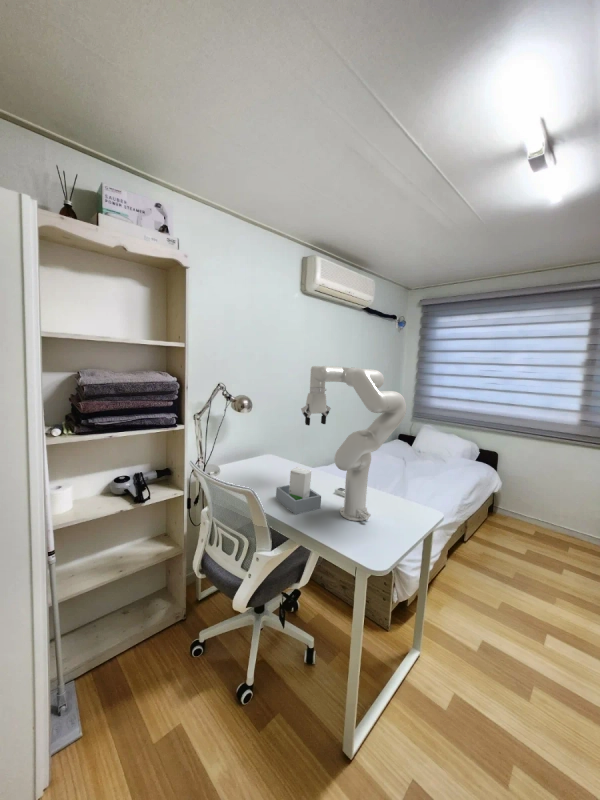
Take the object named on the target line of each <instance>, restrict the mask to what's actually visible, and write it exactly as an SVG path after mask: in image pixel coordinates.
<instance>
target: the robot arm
mask: <svg viewBox="0 0 600 800" xmlns="http://www.w3.org/2000/svg"><path fill="white" fill-rule="evenodd" d="M309 379H310V380H309V392H308V393H307V396H306V401H305V406H303V407H302V408H300V409H301V412H302V415H303V416H304V418H305V419H304V424H305V425H306V426H310V425H311V417H310V416H311V415H313V414H321V417H320V418H321V419H320V424H322V425H326V423H327V417H328V415H329V414H330V411H331V409H332V408H331V407H330V406H328V404H327V396H326V391H327V388H326V383H332V382H335V383H345V384H346V385H347V387H352V388H353V389H354V391H355V392H356V394H357V396H358V397H359V399H360V400H361V402H362V404H363V405H364V406H365V407H366V409H367V410H368V411H370V412H371V413H372V414H379V415H378V416H377V417H376V418H374V420H373V422H372V423H371V424H370V425H369V426H368V427H367V428H366V429H362V430H355V431H354V432H352V433H350V434H349V435H348V436H347V437H346V438H345V440H344V441H343V442H342V443H341V445H340V446H339V447H338V449H337V450H336V452H335V454H334V464H335V466H336V467H337V468H338V469H339V470H341V471H345V472H346V474H345V481H344V483H345V487H344V499H343V500H344V501H343V502H344V503H343V507H341V508H340V509H339V510H340V511H339V514H340V516H342V518H344V519H346V520H349V521H353V522H363V521H368V520H369V519H370V517H371V513H369V511H368V507H367V505H366V504H367V494H368V492H367V491H368V479H369V472H370V471H369V470H370V466H371V463H372V453H373V452H376V451H378V450H379V449H380V448H381V446H382V445H384V443H385V442H386V441H387V440H388V439H389V437H390V436H391V435H392V433H393V432H394V431H395V430H396V429H397V428H398V427H399V426H400V424H401V423H402V422H403V421H404V418H405V417H406V412H407V403H406V399H405V398H404V396H403V395H402V394H401V393H400V392H397V391H395V390H379V389H380V388H381V387H382V386H383V385H384V382H385V377H384V374H383V373H382V372H380V371H379V370H377V369H371V368H362V367H361V368H360V367H346V366H337V365H335V366H334V365H322V366H321V365H313V366H311V368H310V378H309Z"/></svg>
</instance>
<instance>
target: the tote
mask: <svg viewBox="0 0 600 800" xmlns="http://www.w3.org/2000/svg"><path fill="white" fill-rule="evenodd" d="M289 486H290V484H286V485H281V486H276V488H275V489H276V490H275V492H276V493H275V500H277V501H278V503H280V504H281V503H282V504H281V505H283V507H285V508H286V509H287V508H288V509H287V510H288V511H289V512H290V513H292V512H293V513H294V514H293V513H292V514H293V515H299V514H303V513H306V512H309V511H315V510H318V509H321V507H322V495H321V494H319V493H317V492H316V491H315V490H314V489H312V488H310V494H309V498H304V499H300V500H295V499H294V498H292V497H291V496H290V495H289ZM298 513H299V514H298Z"/></svg>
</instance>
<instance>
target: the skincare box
mask: <svg viewBox="0 0 600 800" xmlns="http://www.w3.org/2000/svg"><path fill="white" fill-rule="evenodd" d="M311 480H312V470H309V469H306V468H302V467H299V466H295V468H293V469H290V474H289V485H290V486H289V495H290V496H291V497H292V498H294V499H295V500H300V499H304V498H309V494H310V489H311V482H312V481H311Z"/></svg>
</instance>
